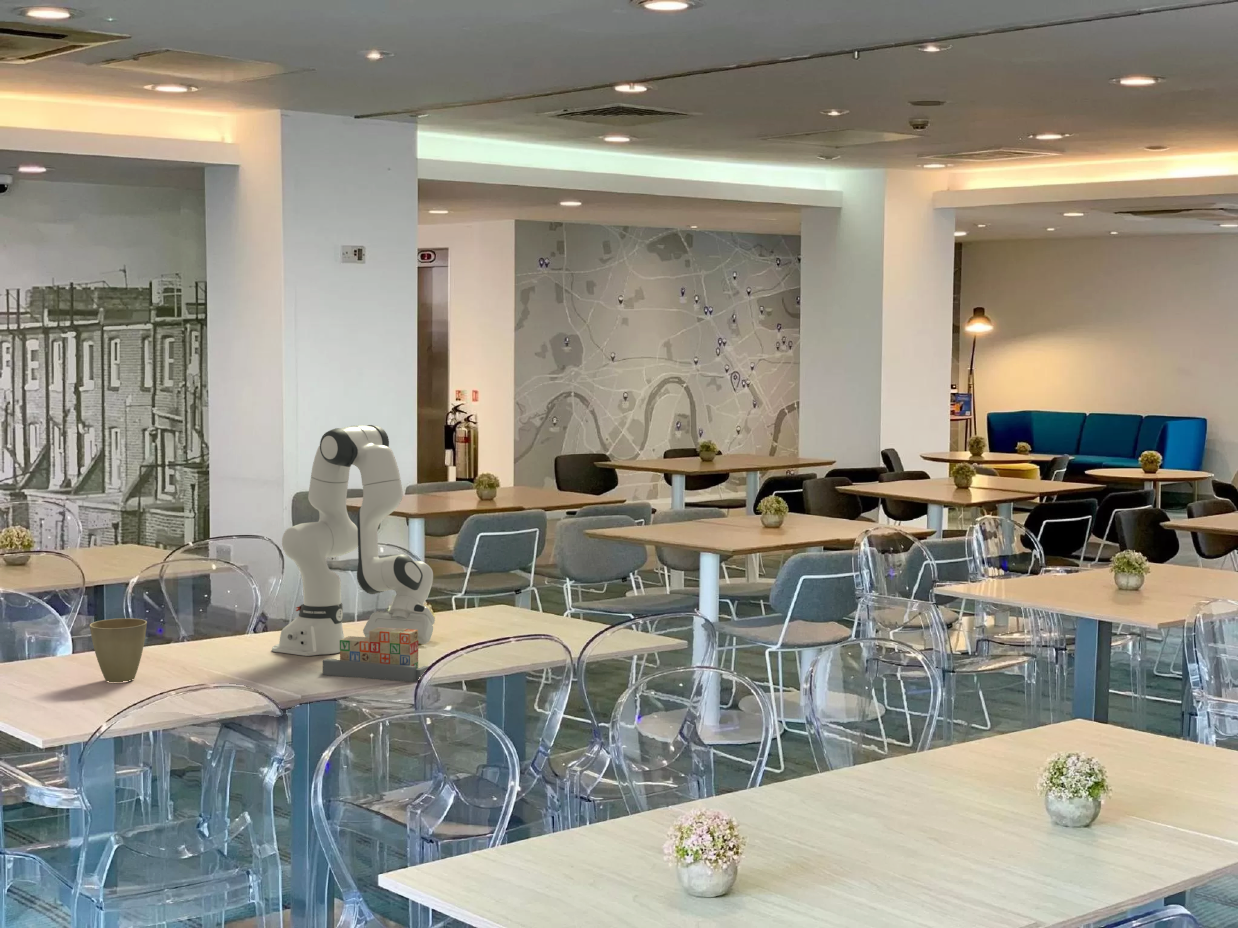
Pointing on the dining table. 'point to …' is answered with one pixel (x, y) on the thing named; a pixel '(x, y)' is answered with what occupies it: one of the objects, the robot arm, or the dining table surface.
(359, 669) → the frame
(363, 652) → the stack of blocks
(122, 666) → the plant pot
